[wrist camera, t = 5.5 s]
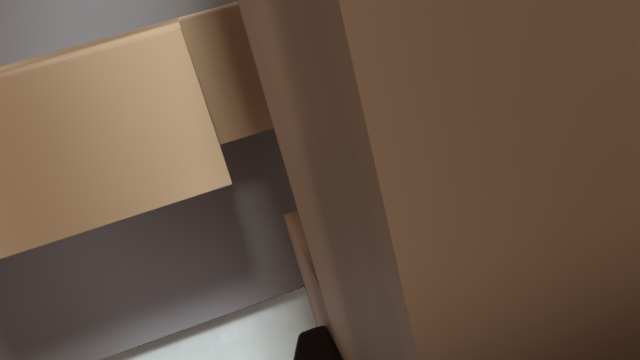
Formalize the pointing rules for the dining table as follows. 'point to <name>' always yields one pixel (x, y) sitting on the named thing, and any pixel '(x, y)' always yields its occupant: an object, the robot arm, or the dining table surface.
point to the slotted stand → (133, 175)
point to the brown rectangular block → (461, 172)
